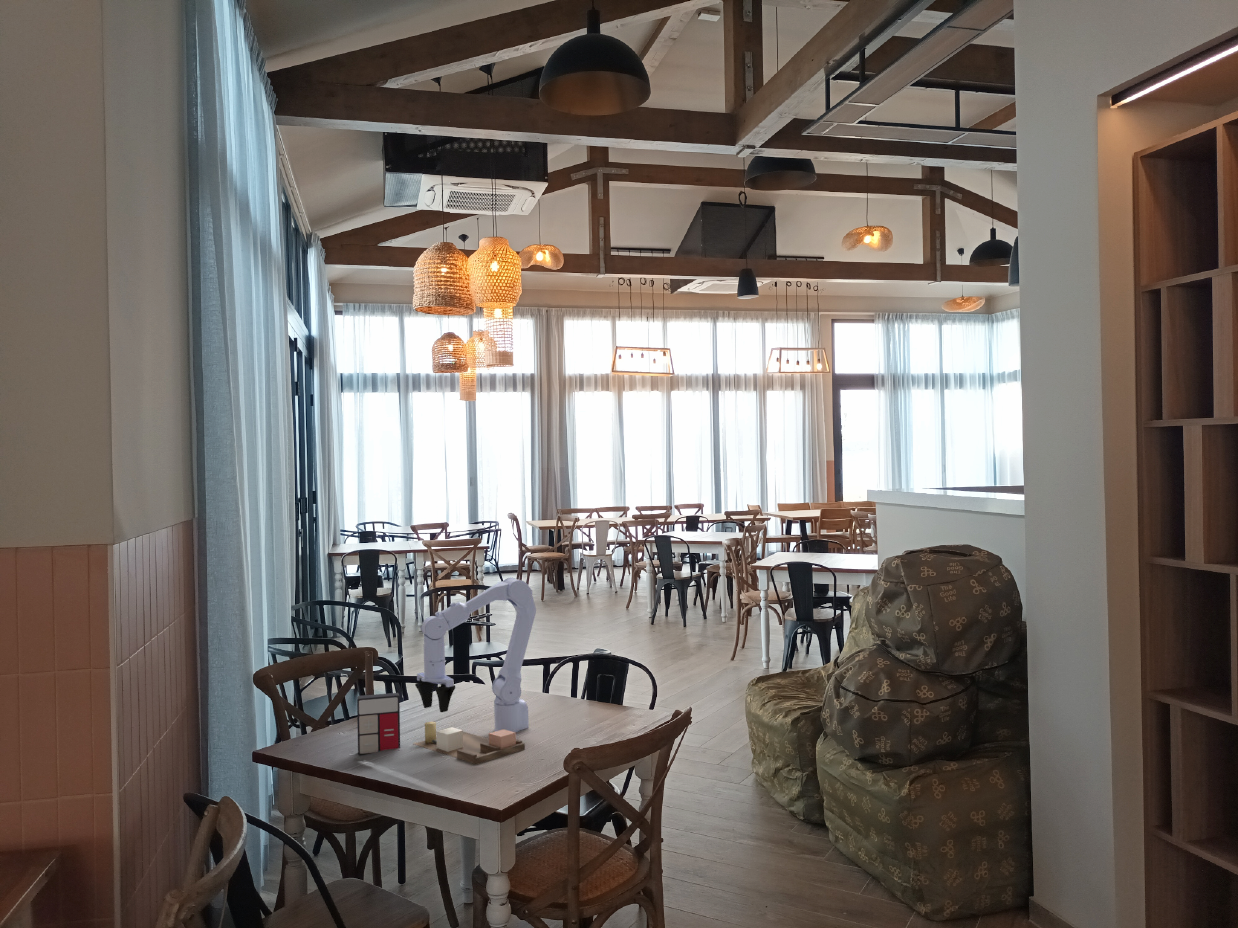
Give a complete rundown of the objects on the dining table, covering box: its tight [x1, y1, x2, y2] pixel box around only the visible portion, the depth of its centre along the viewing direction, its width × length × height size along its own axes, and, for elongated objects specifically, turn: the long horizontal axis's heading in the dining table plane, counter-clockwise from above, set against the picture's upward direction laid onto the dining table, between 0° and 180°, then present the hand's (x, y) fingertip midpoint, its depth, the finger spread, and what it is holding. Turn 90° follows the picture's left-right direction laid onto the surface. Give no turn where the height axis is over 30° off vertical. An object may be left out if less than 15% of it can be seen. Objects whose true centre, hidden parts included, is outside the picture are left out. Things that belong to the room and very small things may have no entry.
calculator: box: [356, 692, 401, 756], centre depth 236 cm, size 11×4×15 cm, turn 105°
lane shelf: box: [413, 731, 526, 765], centre depth 235 cm, size 16×28×3 cm, turn 47°
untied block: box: [488, 729, 517, 749], centre depth 231 cm, size 5×5×4 cm
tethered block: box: [424, 721, 464, 752], centre depth 237 cm, size 5×13×5 cm, turn 47°
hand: (435, 709), depth 243 cm, fingers open, 7 cm apart
